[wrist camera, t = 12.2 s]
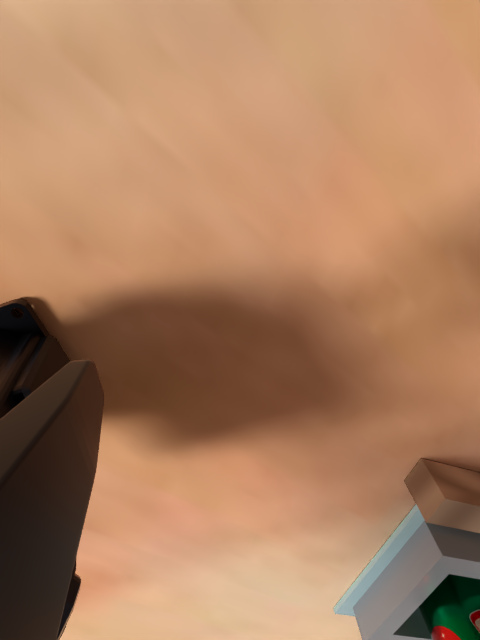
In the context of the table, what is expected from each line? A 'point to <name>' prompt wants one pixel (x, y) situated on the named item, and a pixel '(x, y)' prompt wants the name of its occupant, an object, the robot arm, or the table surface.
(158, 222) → the table surface
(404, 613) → the socket
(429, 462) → the long brown rectangular bar
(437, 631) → the soda can
